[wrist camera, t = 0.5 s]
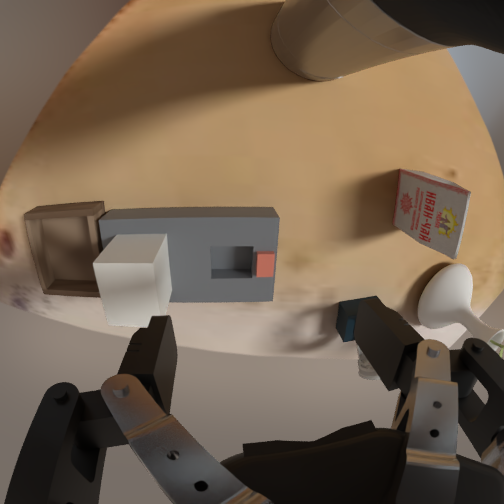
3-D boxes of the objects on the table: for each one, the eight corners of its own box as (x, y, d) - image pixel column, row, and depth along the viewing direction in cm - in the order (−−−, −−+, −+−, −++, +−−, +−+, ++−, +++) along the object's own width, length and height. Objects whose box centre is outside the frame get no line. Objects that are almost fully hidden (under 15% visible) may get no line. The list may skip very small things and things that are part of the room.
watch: (334, 338, 38) (362, 397, 28) (340, 290, 34) (378, 349, 24) (369, 331, 38) (402, 385, 28) (379, 284, 34) (423, 336, 25)
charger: (123, 227, 27) (92, 263, 19) (170, 226, 27) (152, 263, 20) (130, 279, 29) (108, 325, 22) (174, 280, 30) (162, 327, 22)
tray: (37, 206, 26) (23, 214, 23) (103, 200, 27) (92, 208, 24) (54, 281, 30) (44, 294, 27) (116, 284, 31) (108, 297, 28)
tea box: (422, 171, 29) (480, 193, 20) (414, 224, 31) (466, 258, 22) (399, 168, 28) (458, 189, 19) (392, 224, 31) (443, 260, 22)
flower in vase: (401, 323, 38) (488, 449, 16) (429, 255, 34) (554, 374, 11) (452, 318, 40) (531, 414, 17) (478, 261, 36) (578, 349, 13)
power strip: (111, 209, 27) (95, 222, 23) (273, 207, 29) (281, 220, 25) (122, 284, 31) (111, 304, 27) (267, 284, 33) (273, 305, 29)
